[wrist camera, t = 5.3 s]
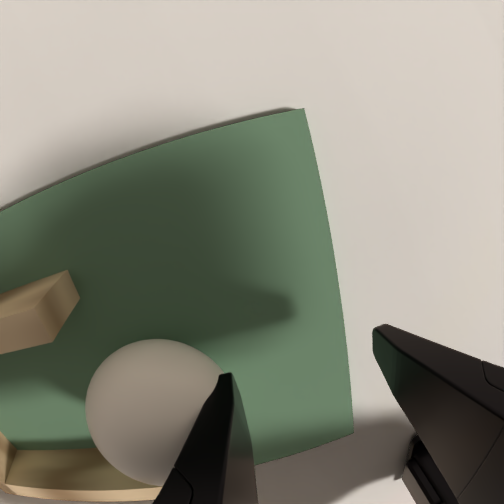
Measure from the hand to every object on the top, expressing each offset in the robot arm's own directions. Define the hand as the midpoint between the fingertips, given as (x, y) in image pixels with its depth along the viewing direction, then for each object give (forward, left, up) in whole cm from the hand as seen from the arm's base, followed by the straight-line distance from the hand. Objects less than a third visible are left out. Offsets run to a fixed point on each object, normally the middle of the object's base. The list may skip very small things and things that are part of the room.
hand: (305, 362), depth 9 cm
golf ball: (+4, 0, 0) cm, 4 cm away
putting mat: (+7, +1, -2) cm, 7 cm away
